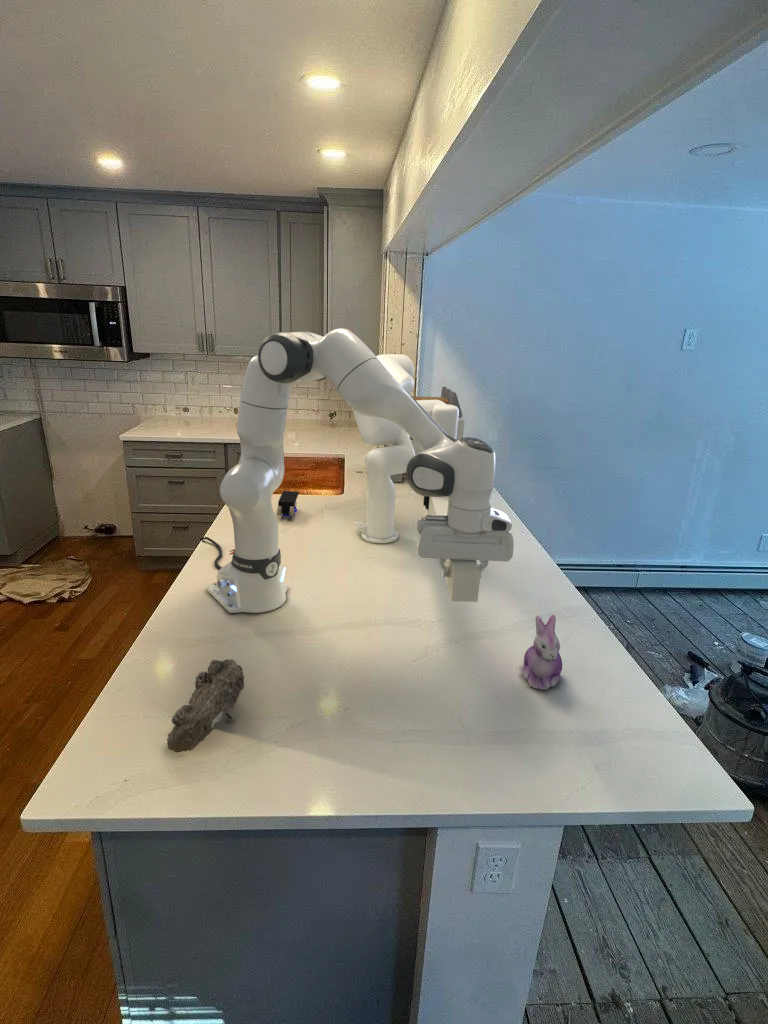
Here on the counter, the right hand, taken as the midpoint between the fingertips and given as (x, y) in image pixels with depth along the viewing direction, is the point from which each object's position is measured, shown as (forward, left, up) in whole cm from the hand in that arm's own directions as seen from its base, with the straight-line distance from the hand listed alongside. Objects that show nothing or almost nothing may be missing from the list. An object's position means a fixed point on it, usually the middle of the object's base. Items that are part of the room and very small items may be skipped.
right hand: (437, 507), depth 167 cm
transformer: (-29, +103, -20) cm, 109 cm away
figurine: (+34, -46, -20) cm, 61 cm away
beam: (+7, -23, -2) cm, 24 cm away
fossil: (-26, -80, -20) cm, 87 cm away
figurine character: (-61, +25, -20) cm, 69 cm away
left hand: (+15, -45, +1) cm, 47 cm away
